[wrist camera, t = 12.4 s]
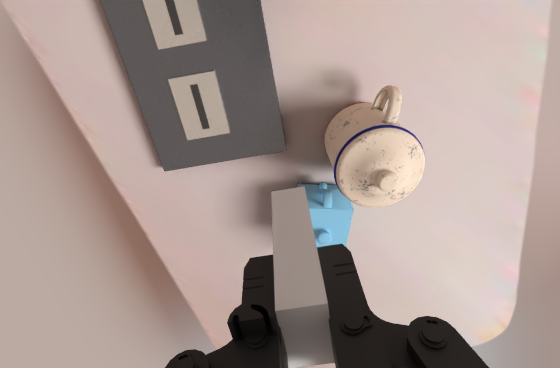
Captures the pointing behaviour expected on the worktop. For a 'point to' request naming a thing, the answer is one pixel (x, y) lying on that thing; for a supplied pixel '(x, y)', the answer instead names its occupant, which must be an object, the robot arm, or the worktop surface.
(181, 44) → the plate
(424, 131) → the worktop surface
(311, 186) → the teapot
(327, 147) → the teacup with lid
